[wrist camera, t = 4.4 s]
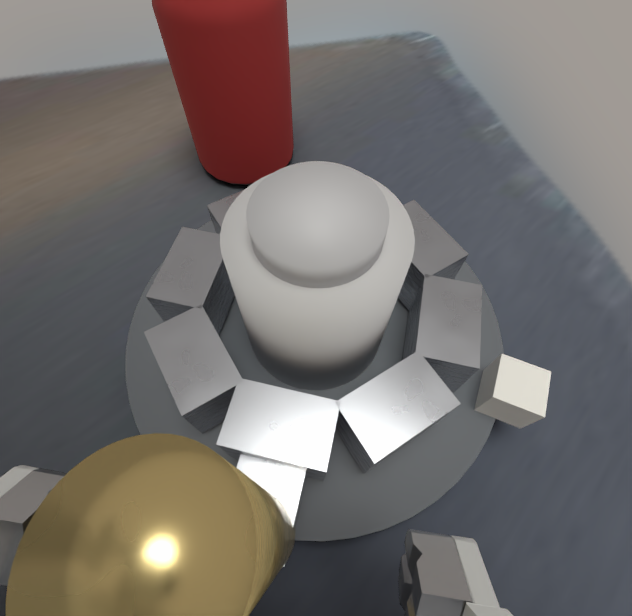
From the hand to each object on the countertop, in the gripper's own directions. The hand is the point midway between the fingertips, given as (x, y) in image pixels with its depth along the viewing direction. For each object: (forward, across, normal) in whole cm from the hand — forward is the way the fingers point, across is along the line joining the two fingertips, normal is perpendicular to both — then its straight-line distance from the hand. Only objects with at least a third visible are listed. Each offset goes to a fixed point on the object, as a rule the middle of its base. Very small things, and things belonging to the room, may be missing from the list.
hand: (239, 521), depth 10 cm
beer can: (+22, +6, -10) cm, 25 cm away
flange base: (+12, -1, 0) cm, 12 cm away
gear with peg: (+9, -1, -1) cm, 9 cm away
